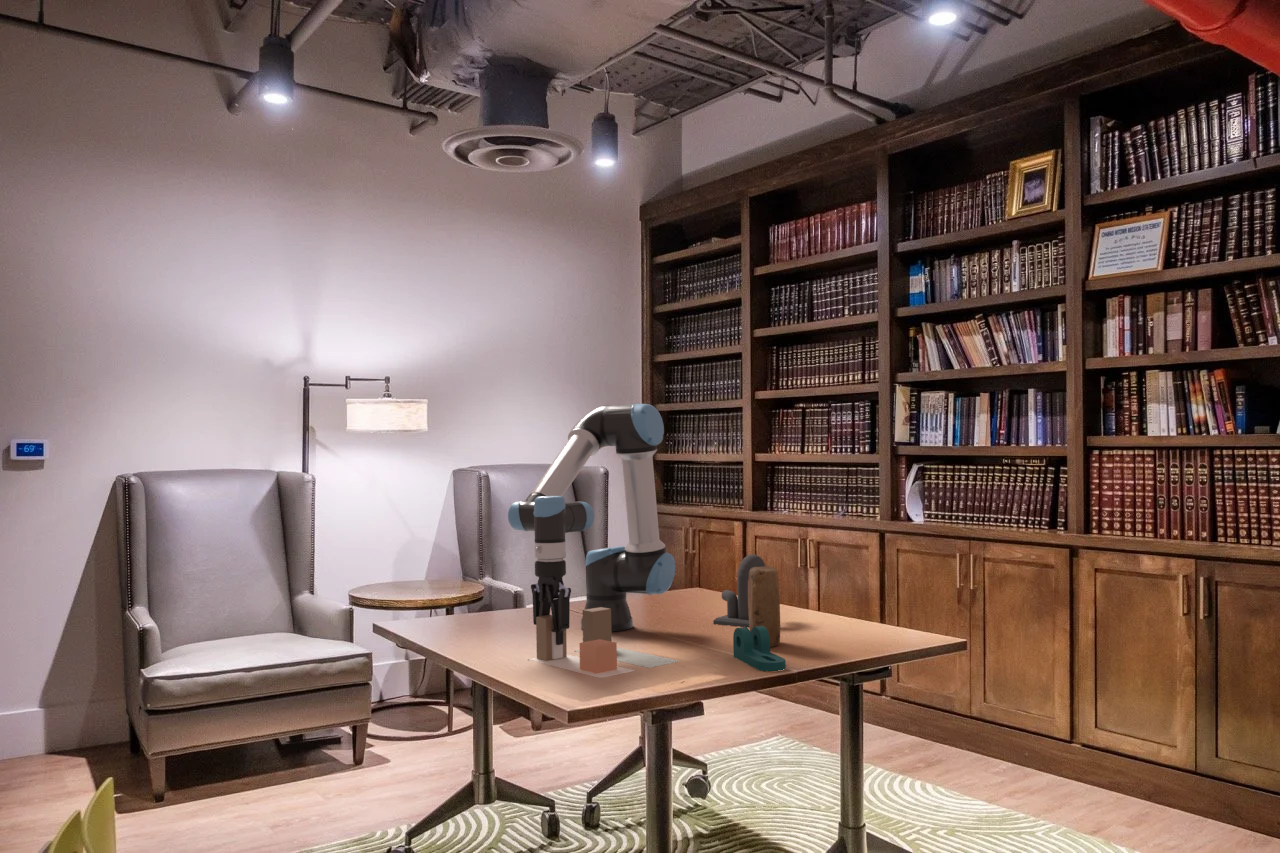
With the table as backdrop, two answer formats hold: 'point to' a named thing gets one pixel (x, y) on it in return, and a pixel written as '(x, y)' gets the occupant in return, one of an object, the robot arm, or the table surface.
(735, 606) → the faucet
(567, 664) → the cube strip
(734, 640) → the bracket
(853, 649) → the table surface
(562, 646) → the robot arm
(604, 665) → the cube
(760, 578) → the block
